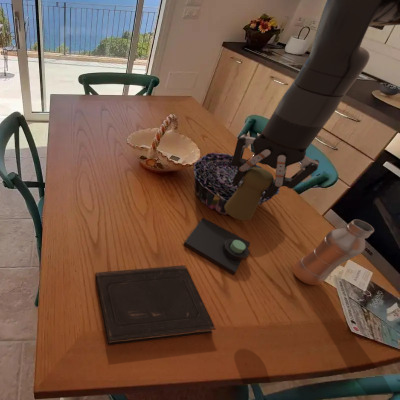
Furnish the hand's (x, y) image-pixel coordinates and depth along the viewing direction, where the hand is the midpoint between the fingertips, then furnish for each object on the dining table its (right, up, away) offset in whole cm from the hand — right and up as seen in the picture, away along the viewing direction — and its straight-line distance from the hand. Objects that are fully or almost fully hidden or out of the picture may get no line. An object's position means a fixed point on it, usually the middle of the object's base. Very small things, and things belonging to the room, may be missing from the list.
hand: (250, 189), depth 57 cm
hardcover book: (-20, -26, +6) cm, 34 cm away
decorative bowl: (+14, -1, +36) cm, 38 cm away
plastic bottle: (+22, -22, +13) cm, 34 cm away
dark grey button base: (+2, -15, +19) cm, 24 cm away
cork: (0, -5, +4) cm, 7 cm away
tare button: (+6, -15, +15) cm, 22 cm away
